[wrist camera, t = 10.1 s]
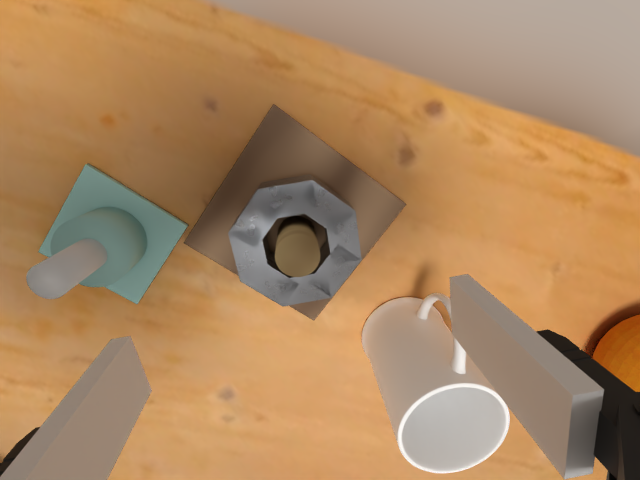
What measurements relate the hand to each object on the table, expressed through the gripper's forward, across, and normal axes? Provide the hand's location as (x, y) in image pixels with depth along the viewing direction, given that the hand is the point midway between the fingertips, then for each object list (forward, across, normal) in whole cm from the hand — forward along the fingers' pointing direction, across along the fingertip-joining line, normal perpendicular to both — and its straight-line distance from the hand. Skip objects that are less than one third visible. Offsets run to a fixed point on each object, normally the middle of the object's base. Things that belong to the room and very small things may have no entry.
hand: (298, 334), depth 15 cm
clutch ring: (+14, 0, 0) cm, 14 cm away
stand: (+18, -15, +1) cm, 24 cm away
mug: (+18, +10, -12) cm, 24 cm away
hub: (+18, 0, 0) cm, 18 cm away
